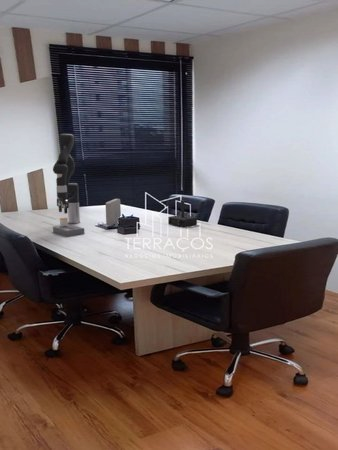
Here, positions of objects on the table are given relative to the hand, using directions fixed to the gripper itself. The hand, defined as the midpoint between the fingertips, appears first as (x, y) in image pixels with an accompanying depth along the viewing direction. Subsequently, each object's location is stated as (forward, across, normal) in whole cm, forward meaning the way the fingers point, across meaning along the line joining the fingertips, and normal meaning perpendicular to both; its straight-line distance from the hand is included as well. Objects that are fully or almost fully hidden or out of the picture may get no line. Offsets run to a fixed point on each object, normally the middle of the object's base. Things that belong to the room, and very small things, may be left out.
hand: (63, 212), depth 318 cm
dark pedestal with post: (+15, -44, -82) cm, 94 cm away
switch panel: (+14, -7, 0) cm, 16 cm away
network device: (+15, -5, -42) cm, 45 cm away
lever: (+10, 0, 0) cm, 10 cm away
